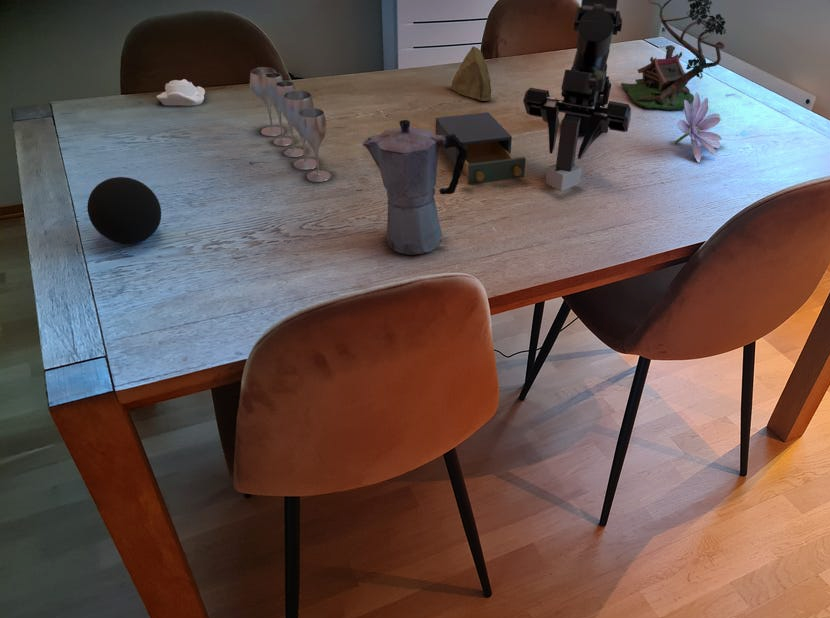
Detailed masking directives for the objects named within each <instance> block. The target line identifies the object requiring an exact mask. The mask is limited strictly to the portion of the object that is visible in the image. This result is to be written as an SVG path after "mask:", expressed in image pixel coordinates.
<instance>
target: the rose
mask: <svg viewBox="0 0 830 618" xmlns="http://www.w3.org/2000/svg"><path fill="white" fill-rule="evenodd" d="M164 89H165V91H163V92H161V93H160V94H158V95H156V99H157V100H158V101H159V102H160V103H161V104H162V105H163V106H187V107H190V106H198V105H201V104H203V103H204V100H205V94H206V90H205V89H204V87H202V86H195V85H194V84H193V82H192V81H188V80H187V79H185V78H183V79H181V80H178V79H173V80H170V81H169V82H167V83H165V85H164Z"/></svg>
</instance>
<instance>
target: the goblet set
mask: <svg viewBox="0 0 830 618" xmlns="http://www.w3.org/2000/svg"><path fill="white" fill-rule="evenodd" d="M249 87H250V90H251V92H252V93H253V95H254V96H256V97H257V98H258V99H259V100H261V102H263V103H264V104H265V106H266V109H267V112H268V117H269V123H270V126H266V127H264V128H262V129H261V131H260V133H261V134H262V135H263V136H266V137H277V138H275V139H274V140H273V141H272V143H273V144H274V145H275V146H278V147H286V146H290V145H292V148H287V149H286V150H285V151H283V154H284V156H286V157H289V158H298V157H299V158H300V157H302V156H303V157H304V158H300V159H298V160H295V162H293V166H294V168H295V169H298V170H300V171H310V170H313V169H316V170H313V171H310V172H308V173H307V175H306V179H307V180H308V181H310V182H313V183H322V182H323V183H324V182H326V181H328V180H330V179H331V177H332V174H331V173H330V172H329V171H327V170H320V166H319V165H320V162H319V149H320V147H321V145H322V142H323V141H324V138H325V137H326V134H327V119H326V115H325V112H324V110H322V109H320V108H316V107H315V106H314V101H313V97H312V94H311V93H310V91H306V90H301V89H300V90H299V89H298V90H297V88H296V86H295V83H294V82H293V81H291V80H284V78H283V75H282V73H280V72H277V71H276V69H275V68H273V67H267V66H261V67H256V68H252V69H251V70H250V75H249ZM272 106H273V108H274V109H275V112H276V115H277V118H278V123H279V126H274V124H273V119H272ZM282 115H283V117H284V118H285V120H286V122H287V125H288V127H289V131H290V136H291V138H290V137H284V133H285V129H284V128H283V122H282ZM294 130H295V131H296V132H297V133H298V135H299V137H300V140H301V145H302V148H299V147H296V146H295V140H294ZM280 135H281V137H279V136H280ZM306 142H307V144H308V145H309V146H310V148H311V149H312V151H313V154H314V158H309V157H308V156H307V148H306Z"/></svg>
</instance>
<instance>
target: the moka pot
mask: <svg viewBox="0 0 830 618" xmlns="http://www.w3.org/2000/svg"><path fill="white" fill-rule="evenodd" d="M410 121H411V120H408V119H403V120H400V121H399V123H398V124H399V127H397V128H392V129H387V130H384V131H383V132H381V133H380V134H376V135H371V136H368V138H366V139H365V140H363V142H362V147H365V148H366V149H367V151H368V152H369V154H370V156H371V157H372V159H373V161H374V163H375V164H376V166H377V168H378V169H379V172H380V175H381V178H382V179H381V180H382V184H383V187H384V189H385V190H386V196H387V222H386V224H387V225H386V242H387V245H388V246H389V248H390V249H391V250H392V251H394V252H397V253H399V254H401V255H402V254H403V255H407V256H410V255H423V254H427V253H429V252H432V251H434V250H435V249H437V248H438V247H440V245H441V243H442V242H443V239H441V238H442V236H443V233H442V228H441V223H440V219H439V214H438V208H437V204H436V199H435V194H436V189H435V186H436V184H437V171H438V162H439V161H438V160H439V150H442V149H447V148H450V147H456V148H457V149H458V150H459V154H458V156H457V161H456V164H455V166H454V168H453V171H452V176H451V177H452V178H451V181H450V183H449V184H448V187H440V188H439V189H438V192H439V194H440V195H452V194H454V193H455V192H456V189H457V186H458V184H459V180H460V177H461V175H462V172H463V170H462V169H463V166H464V162H465V159H467V153H468V151H467V148H466V147H465V146H464V145H463V143H462V142H460V141H459V139H458V138H457V137H456V135H455V134H452V135H447V136H445V135H435V134H434V133H433V132H432V131H431V130H430V129H424V128H418V127H412V126H410V125H411V122H410Z"/></svg>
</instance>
